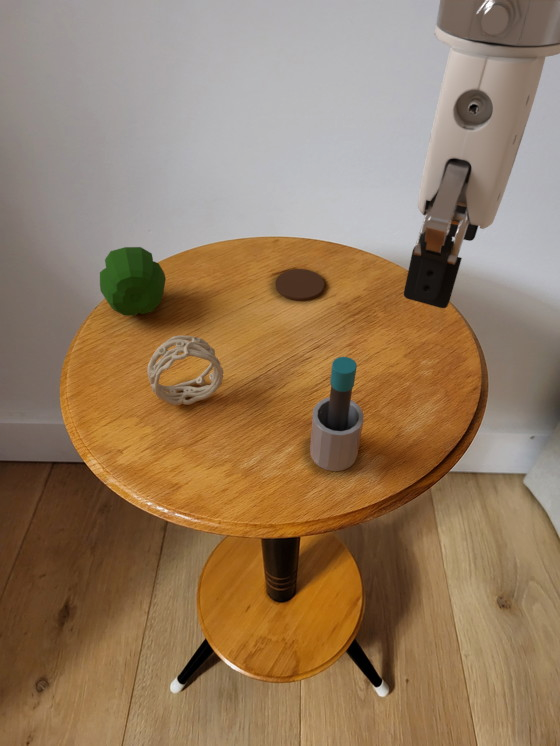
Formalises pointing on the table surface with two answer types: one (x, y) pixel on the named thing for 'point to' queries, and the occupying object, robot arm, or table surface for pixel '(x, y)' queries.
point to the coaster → (299, 284)
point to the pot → (335, 438)
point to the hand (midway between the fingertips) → (441, 266)
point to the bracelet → (190, 349)
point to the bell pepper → (132, 281)
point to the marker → (341, 392)
